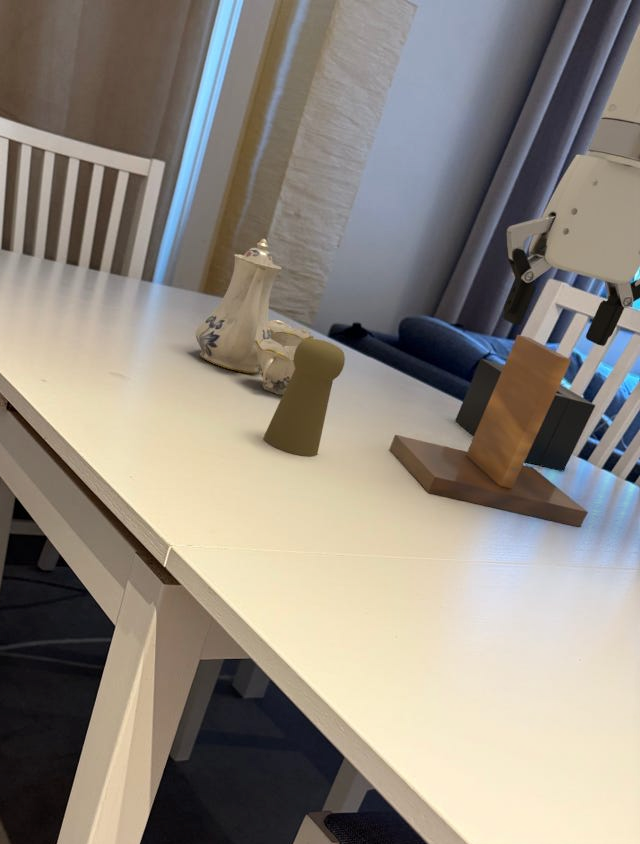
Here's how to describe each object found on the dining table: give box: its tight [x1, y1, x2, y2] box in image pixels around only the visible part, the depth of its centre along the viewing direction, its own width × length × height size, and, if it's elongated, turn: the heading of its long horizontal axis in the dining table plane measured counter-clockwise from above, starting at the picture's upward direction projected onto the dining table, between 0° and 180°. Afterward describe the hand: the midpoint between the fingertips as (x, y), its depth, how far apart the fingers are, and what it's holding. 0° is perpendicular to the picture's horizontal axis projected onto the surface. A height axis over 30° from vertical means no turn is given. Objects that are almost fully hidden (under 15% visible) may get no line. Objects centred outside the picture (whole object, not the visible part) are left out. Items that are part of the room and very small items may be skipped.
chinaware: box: [195, 238, 314, 396], centre depth 124 cm, size 28×17×17 cm, turn 179°
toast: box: [466, 334, 572, 489], centre depth 100 cm, size 2×10×14 cm, turn 5°
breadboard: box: [389, 434, 589, 528], centre depth 104 cm, size 18×14×2 cm
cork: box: [263, 338, 346, 457], centre depth 96 cm, size 6×6×11 cm
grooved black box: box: [454, 358, 596, 472], centre depth 125 cm, size 11×15×9 cm
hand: (553, 332), depth 96 cm, fingers open, 9 cm apart
